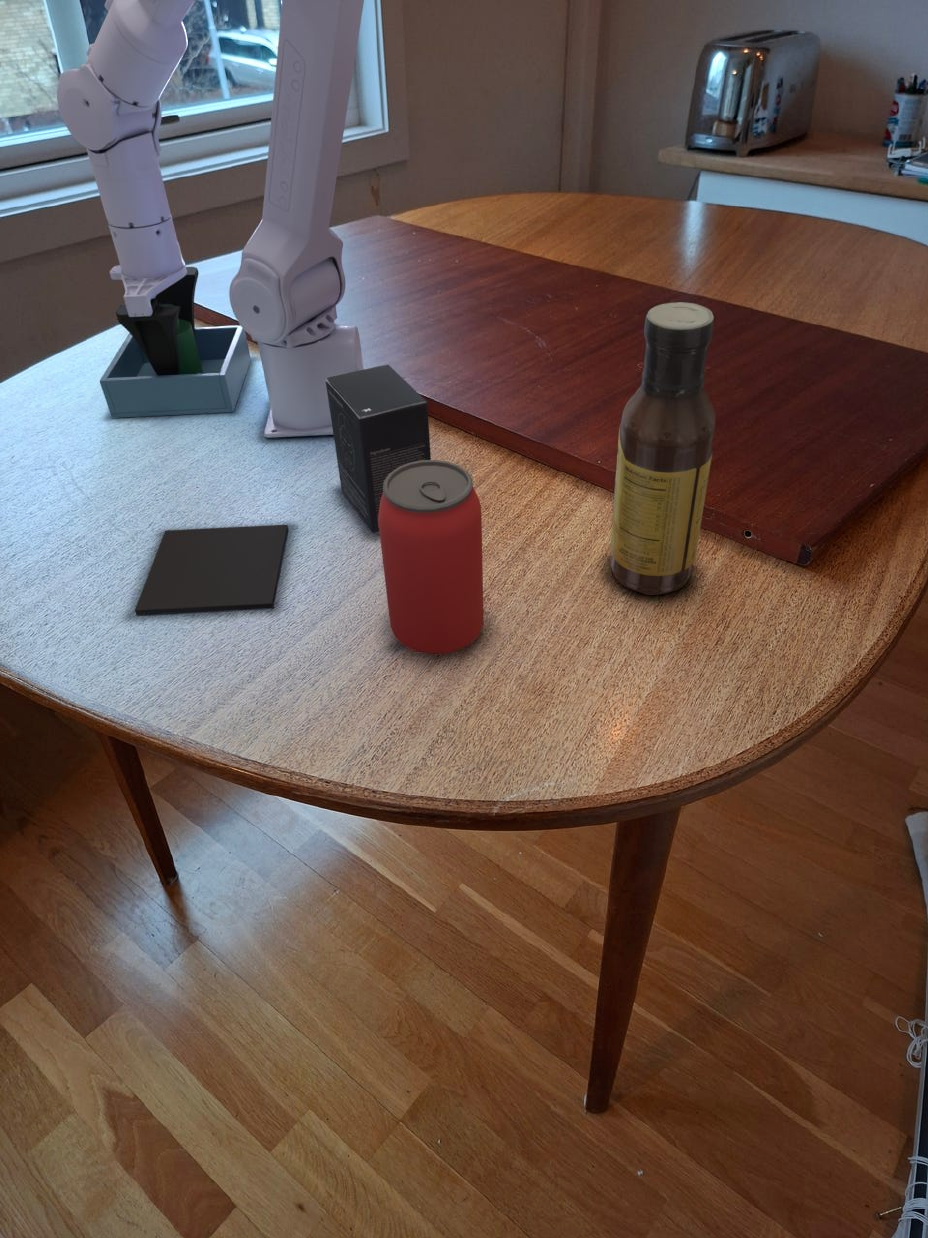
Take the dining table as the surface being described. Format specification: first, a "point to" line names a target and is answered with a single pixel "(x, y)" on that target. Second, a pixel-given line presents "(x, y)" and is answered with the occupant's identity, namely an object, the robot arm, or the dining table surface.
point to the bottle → (187, 348)
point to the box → (375, 433)
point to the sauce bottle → (664, 454)
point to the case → (179, 378)
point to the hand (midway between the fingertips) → (176, 358)
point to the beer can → (432, 556)
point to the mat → (214, 570)
